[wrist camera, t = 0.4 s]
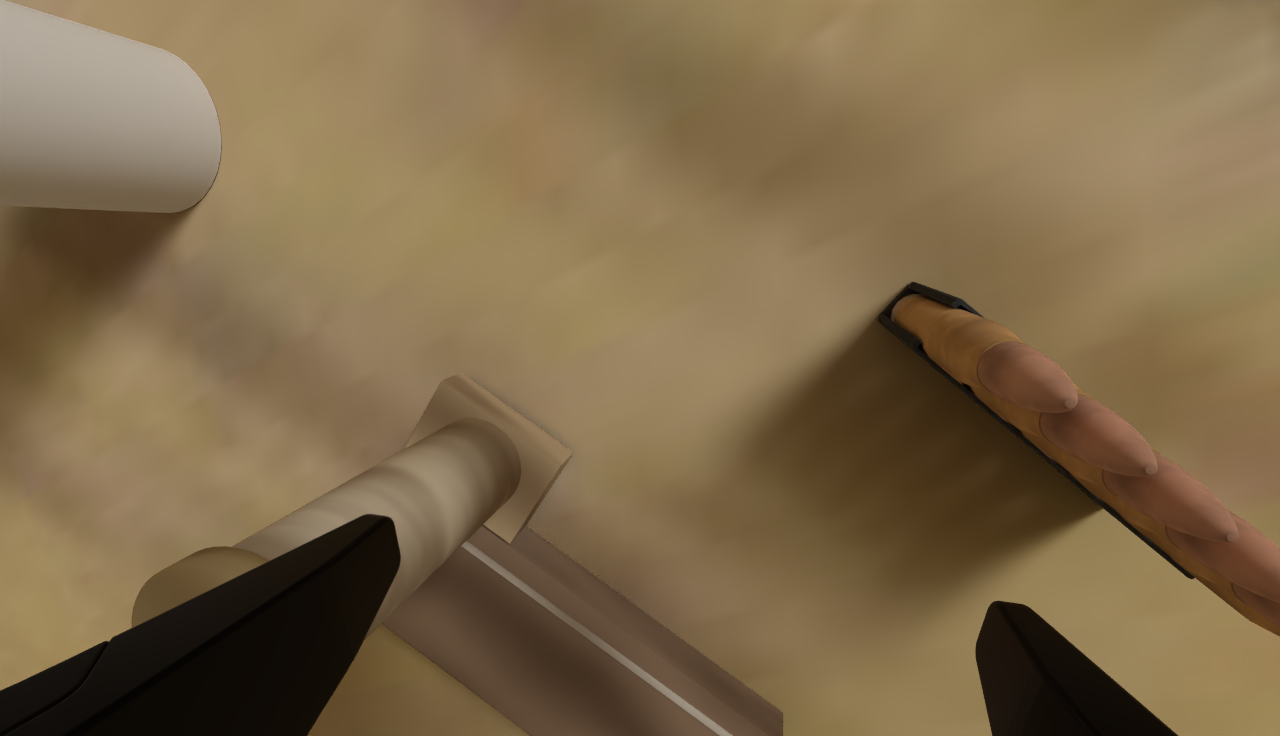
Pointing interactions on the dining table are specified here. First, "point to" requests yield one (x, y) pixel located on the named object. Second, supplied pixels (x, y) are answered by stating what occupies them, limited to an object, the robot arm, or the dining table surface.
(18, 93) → the cylindrical container
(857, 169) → the dining table surface
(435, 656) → the walnut plank
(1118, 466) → the ammunition clip
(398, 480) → the beige round-topped column
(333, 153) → the dining table surface
